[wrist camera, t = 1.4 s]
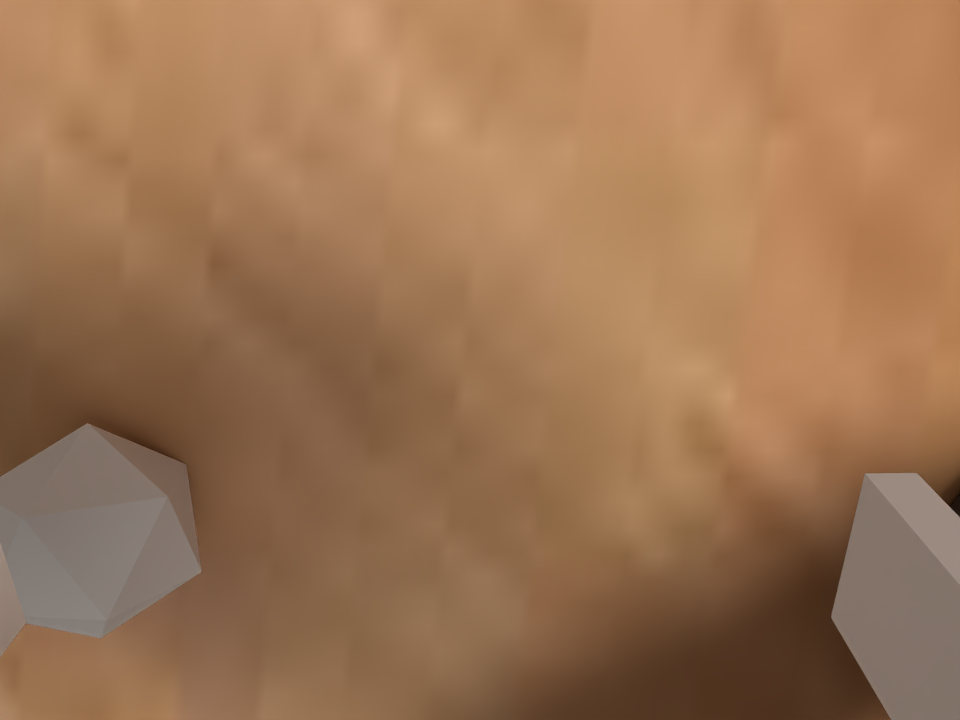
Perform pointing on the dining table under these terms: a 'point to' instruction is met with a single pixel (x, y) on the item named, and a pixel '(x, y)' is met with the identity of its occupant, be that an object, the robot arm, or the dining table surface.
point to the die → (96, 531)
